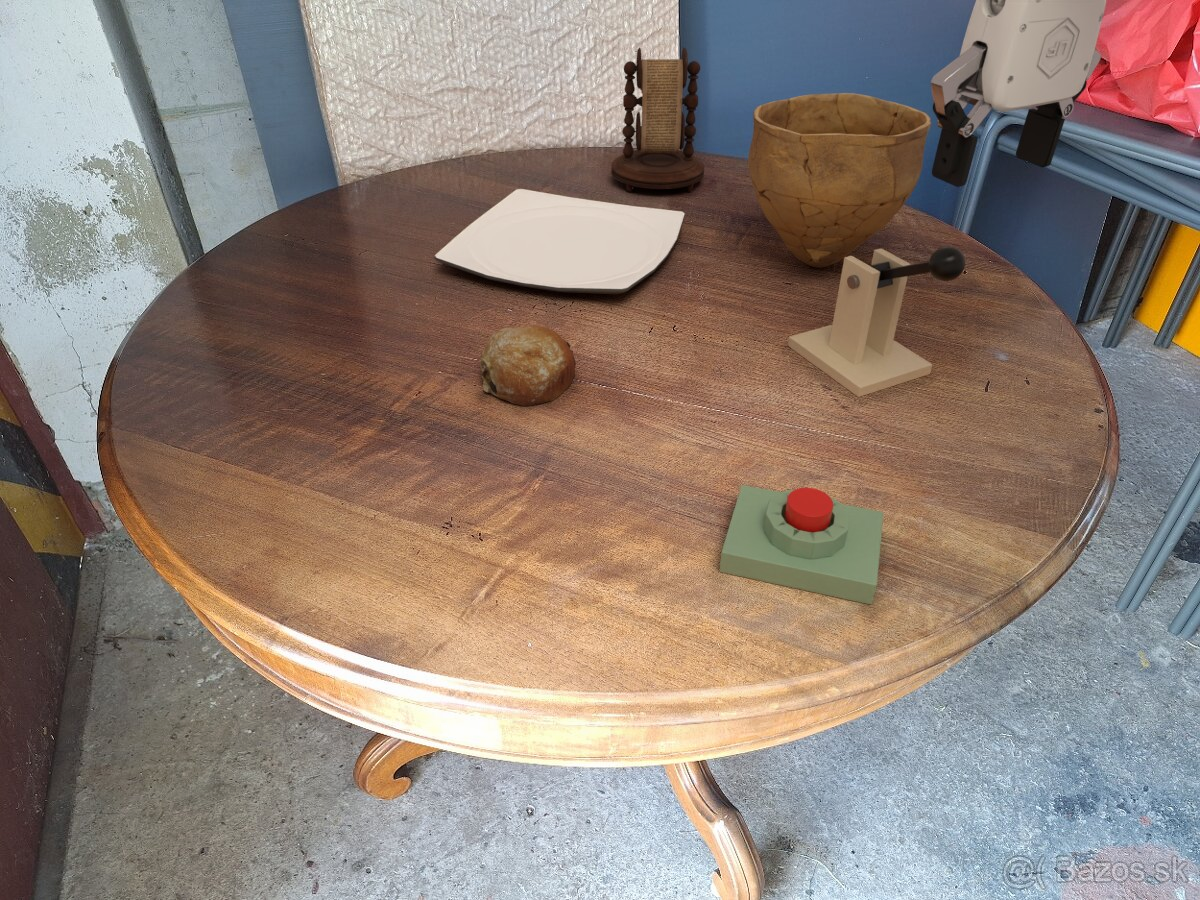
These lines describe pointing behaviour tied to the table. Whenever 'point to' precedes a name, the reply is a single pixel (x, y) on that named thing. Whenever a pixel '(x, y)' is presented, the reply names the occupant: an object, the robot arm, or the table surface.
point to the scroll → (659, 125)
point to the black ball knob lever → (925, 267)
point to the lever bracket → (863, 332)
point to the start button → (808, 510)
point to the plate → (564, 243)
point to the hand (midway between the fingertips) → (990, 171)
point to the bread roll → (527, 365)
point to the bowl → (834, 169)
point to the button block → (803, 547)
